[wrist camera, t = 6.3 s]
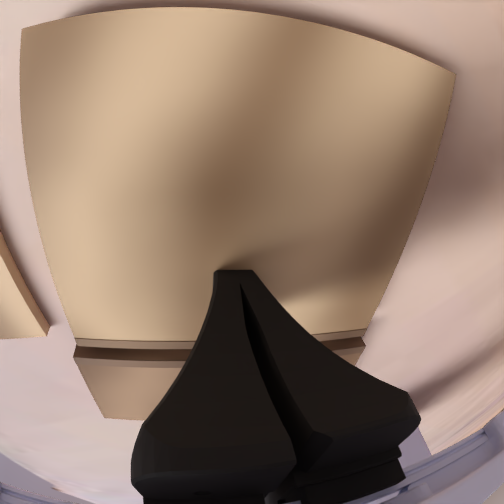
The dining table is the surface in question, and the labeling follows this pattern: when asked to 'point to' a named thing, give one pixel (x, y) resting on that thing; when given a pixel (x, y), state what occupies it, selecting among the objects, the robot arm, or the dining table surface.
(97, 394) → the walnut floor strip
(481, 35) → the dining table surface
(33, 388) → the dining table surface
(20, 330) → the plank
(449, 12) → the dining table surface
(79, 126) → the oak plank
